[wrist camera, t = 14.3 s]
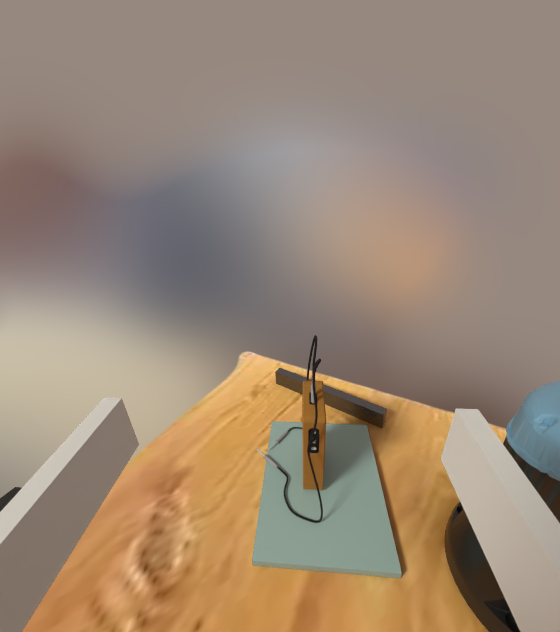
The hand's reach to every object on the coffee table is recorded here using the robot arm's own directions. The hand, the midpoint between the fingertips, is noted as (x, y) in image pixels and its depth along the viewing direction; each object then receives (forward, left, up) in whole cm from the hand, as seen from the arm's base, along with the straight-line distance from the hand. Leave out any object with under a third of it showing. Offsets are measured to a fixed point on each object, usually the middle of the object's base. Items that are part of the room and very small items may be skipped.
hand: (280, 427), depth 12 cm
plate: (-3, -18, -30) cm, 35 cm away
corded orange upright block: (+2, -19, -29) cm, 35 cm away
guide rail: (-4, -34, -30) cm, 46 cm away
